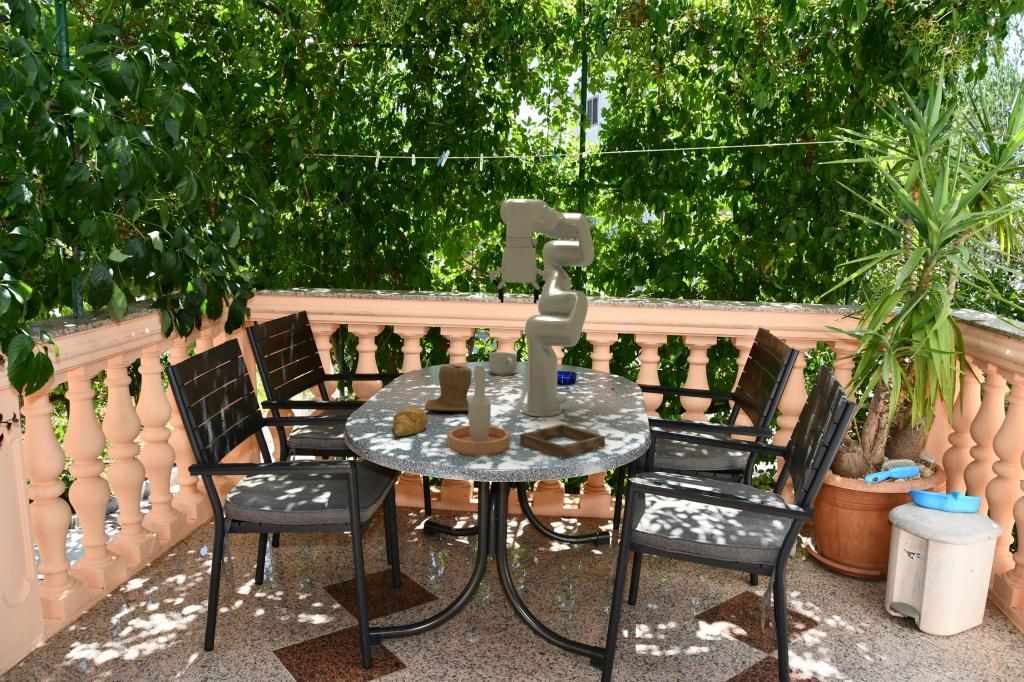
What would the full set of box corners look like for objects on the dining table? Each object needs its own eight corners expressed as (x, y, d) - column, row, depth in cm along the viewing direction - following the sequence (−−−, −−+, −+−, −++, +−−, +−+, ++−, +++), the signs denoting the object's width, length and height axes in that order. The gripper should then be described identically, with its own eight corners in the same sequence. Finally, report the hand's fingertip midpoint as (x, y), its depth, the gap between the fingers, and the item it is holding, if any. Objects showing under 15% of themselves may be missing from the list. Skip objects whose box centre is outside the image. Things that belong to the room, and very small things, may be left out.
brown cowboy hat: (474, 406, 287) (474, 361, 284) (472, 415, 275) (472, 369, 272) (428, 405, 287) (428, 360, 285) (424, 414, 275) (424, 368, 273)
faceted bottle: (465, 444, 240) (465, 366, 237) (470, 438, 247) (471, 362, 243) (487, 446, 239) (488, 368, 235) (492, 439, 245) (493, 363, 242)
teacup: (487, 371, 340) (487, 351, 339) (514, 370, 342) (514, 350, 341) (492, 379, 327) (492, 358, 326) (520, 378, 329) (521, 357, 328)
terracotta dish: (482, 433, 255) (482, 422, 254) (522, 446, 242) (522, 434, 242) (435, 444, 244) (435, 432, 243) (474, 459, 231) (474, 446, 230)
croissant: (407, 451, 249) (419, 428, 246) (377, 433, 250) (389, 410, 247) (429, 430, 269) (441, 408, 267) (402, 413, 270) (413, 392, 268)
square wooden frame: (562, 433, 256) (562, 423, 255) (604, 446, 243) (605, 436, 243) (520, 444, 245) (520, 434, 244) (562, 458, 232) (562, 447, 232)
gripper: (549, 243, 253) (548, 301, 256) (490, 242, 254) (489, 300, 257) (549, 244, 245) (548, 305, 248) (488, 244, 246) (487, 303, 249)
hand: (518, 302), depth 252 cm, fingers open, 9 cm apart
